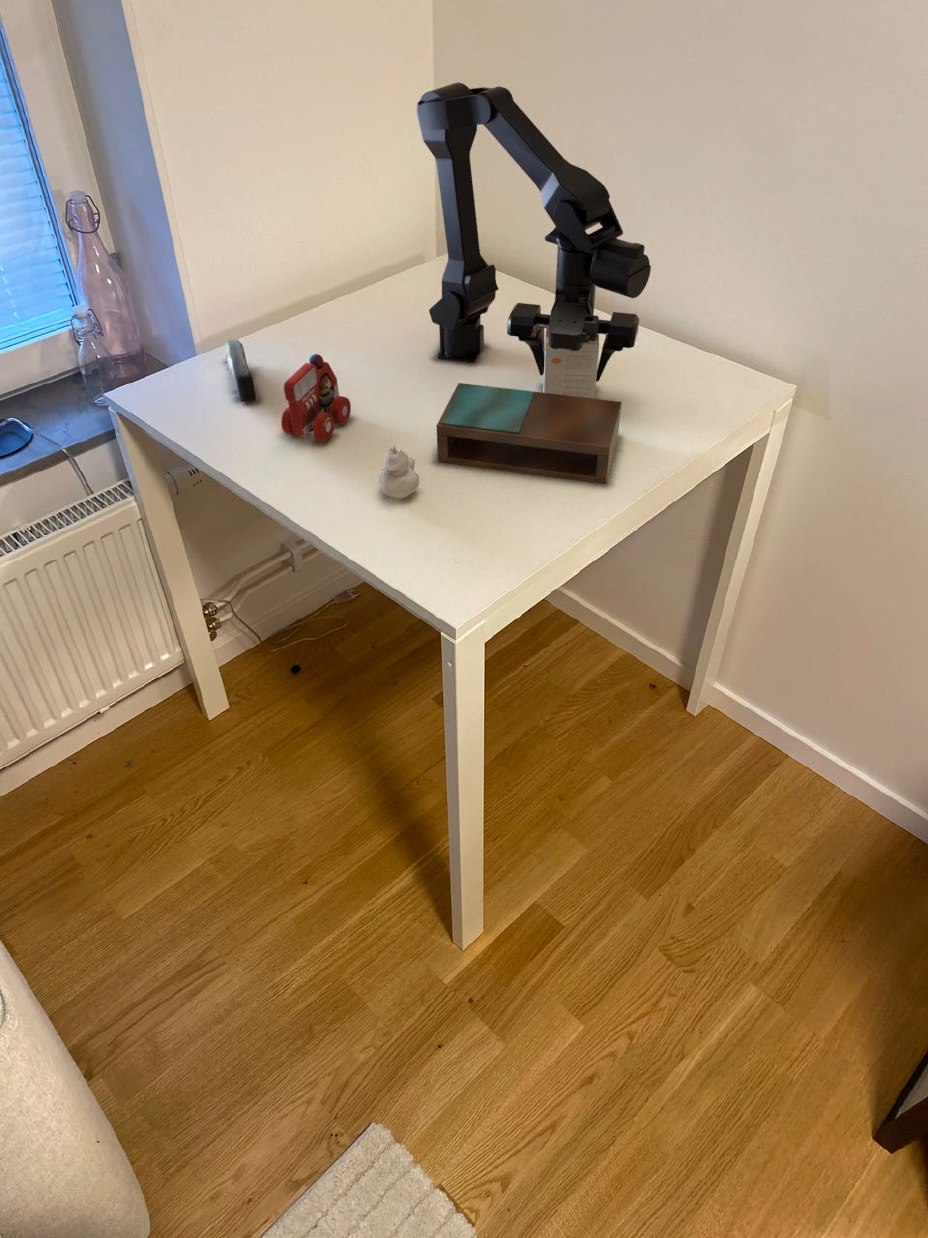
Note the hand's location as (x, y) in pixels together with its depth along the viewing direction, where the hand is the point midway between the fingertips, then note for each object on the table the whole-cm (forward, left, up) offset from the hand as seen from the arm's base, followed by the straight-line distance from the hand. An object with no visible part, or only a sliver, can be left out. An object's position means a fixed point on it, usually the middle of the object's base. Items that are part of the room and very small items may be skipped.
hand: (569, 377), depth 143 cm
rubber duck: (-18, -30, -4) cm, 35 cm away
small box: (0, 0, -4) cm, 4 cm away
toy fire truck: (-35, -17, -4) cm, 39 cm away
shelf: (-3, -16, -3) cm, 17 cm away
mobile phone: (-52, -7, -4) cm, 53 cm away
